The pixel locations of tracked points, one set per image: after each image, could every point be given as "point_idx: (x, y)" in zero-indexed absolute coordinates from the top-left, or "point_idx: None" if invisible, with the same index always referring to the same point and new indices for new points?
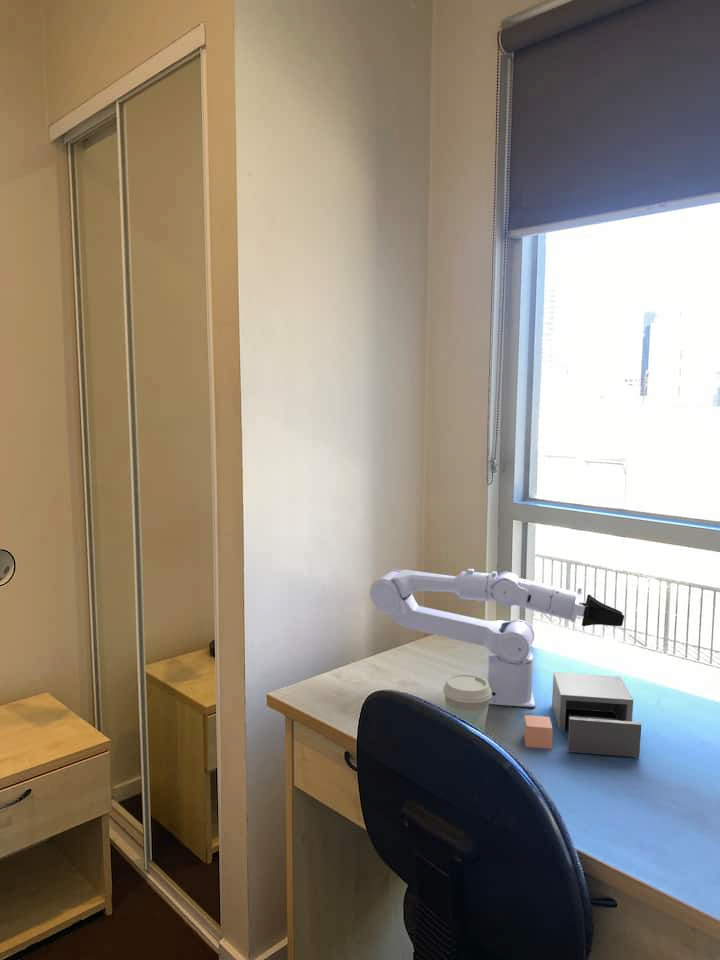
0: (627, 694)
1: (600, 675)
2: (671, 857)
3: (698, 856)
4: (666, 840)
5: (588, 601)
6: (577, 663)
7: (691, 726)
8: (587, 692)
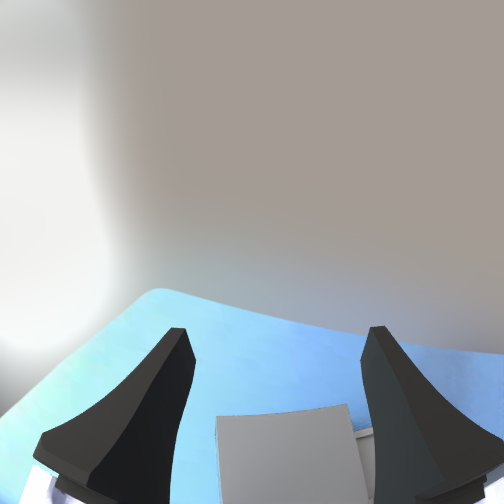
0: (324, 413)
1: (220, 461)
2: (501, 376)
3: (491, 360)
4: (490, 380)
5: (457, 486)
6: (6, 427)
7: (250, 333)
8: (344, 490)
